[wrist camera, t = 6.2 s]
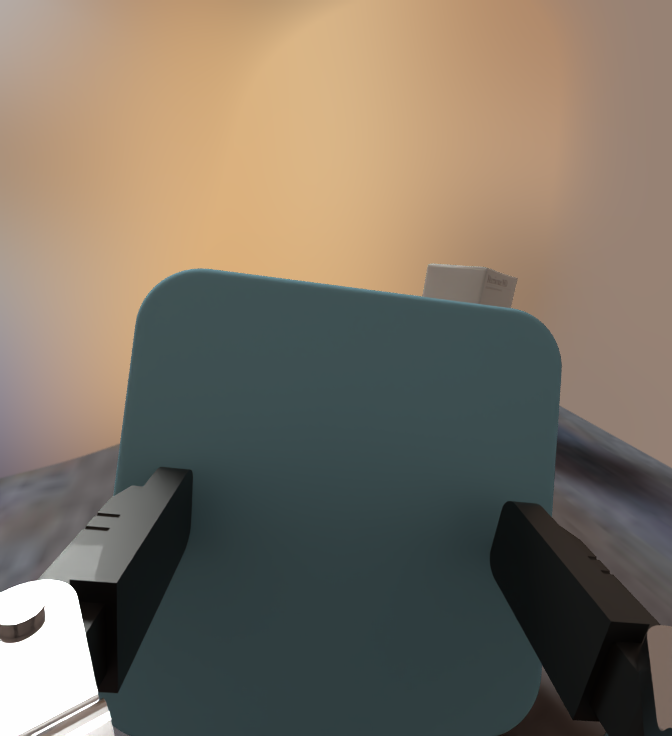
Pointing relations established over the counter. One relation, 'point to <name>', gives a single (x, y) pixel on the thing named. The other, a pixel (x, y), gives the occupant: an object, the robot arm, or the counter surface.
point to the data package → (335, 507)
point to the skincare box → (469, 285)
